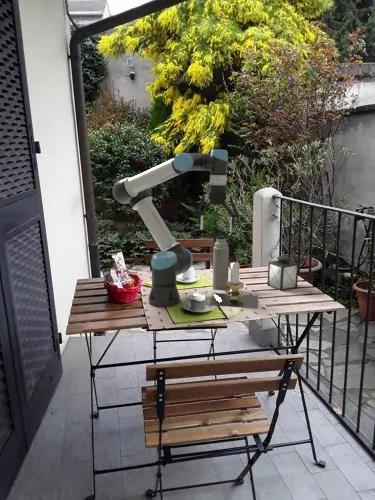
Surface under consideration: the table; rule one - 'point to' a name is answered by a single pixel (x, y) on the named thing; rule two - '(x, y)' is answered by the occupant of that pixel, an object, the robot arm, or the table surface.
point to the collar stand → (235, 298)
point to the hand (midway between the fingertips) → (215, 230)
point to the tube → (234, 279)
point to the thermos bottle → (220, 263)
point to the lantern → (282, 273)
